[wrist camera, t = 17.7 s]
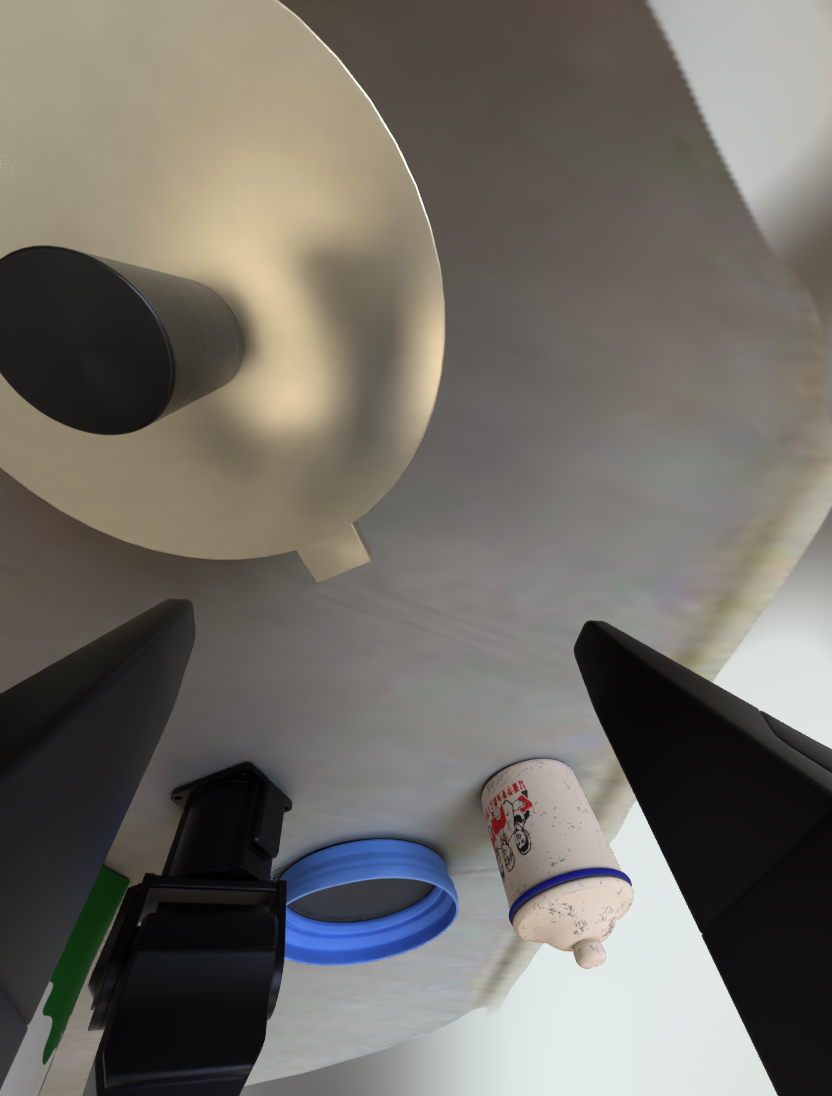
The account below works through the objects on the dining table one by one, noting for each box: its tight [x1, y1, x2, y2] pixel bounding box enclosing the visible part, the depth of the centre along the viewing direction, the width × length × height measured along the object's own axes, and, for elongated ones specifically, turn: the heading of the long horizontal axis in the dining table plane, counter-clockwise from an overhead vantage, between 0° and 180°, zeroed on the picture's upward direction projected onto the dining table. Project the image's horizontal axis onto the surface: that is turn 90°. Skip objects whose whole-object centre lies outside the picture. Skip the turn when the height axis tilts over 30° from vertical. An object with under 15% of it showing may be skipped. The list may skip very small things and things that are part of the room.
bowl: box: [279, 839, 459, 966], centre depth 39 cm, size 18×18×4 cm
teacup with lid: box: [481, 759, 633, 969], centre depth 32 cm, size 12×9×12 cm
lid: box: [0, 0, 446, 560], centre depth 9 cm, size 13×13×6 cm
